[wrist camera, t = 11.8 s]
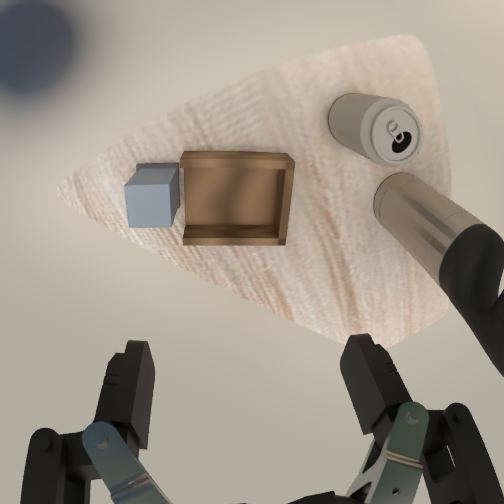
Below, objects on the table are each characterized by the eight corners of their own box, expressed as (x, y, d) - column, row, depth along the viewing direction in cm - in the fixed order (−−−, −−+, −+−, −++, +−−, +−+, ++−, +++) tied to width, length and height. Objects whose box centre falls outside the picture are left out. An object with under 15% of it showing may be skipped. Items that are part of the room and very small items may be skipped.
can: (349, 157, 38) (393, 186, 28) (314, 117, 35) (353, 130, 25) (386, 123, 36) (439, 142, 26) (354, 82, 33) (404, 84, 22)
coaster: (178, 162, 36) (178, 163, 36) (179, 206, 39) (179, 207, 39) (137, 164, 36) (136, 165, 35) (140, 206, 39) (139, 208, 38)
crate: (286, 153, 37) (295, 161, 33) (279, 229, 43) (285, 245, 39) (184, 151, 36) (179, 159, 32) (186, 229, 41) (183, 245, 37)
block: (177, 167, 36) (169, 184, 30) (178, 204, 39) (171, 227, 33) (139, 168, 35) (124, 185, 29) (142, 204, 38) (128, 227, 32)
